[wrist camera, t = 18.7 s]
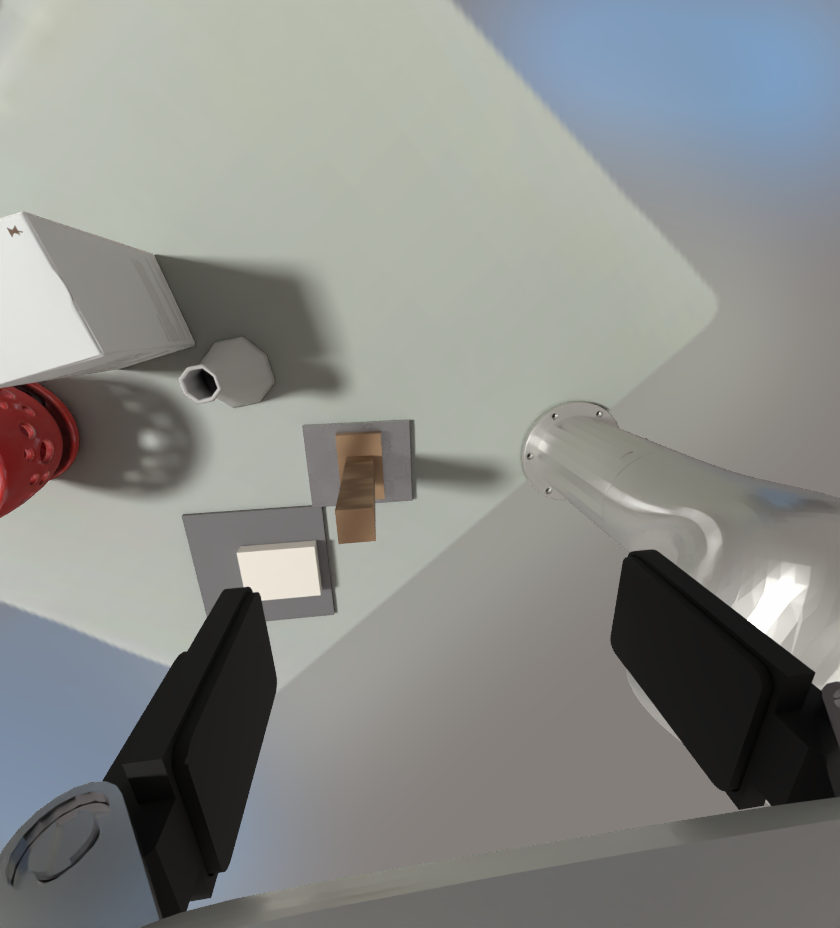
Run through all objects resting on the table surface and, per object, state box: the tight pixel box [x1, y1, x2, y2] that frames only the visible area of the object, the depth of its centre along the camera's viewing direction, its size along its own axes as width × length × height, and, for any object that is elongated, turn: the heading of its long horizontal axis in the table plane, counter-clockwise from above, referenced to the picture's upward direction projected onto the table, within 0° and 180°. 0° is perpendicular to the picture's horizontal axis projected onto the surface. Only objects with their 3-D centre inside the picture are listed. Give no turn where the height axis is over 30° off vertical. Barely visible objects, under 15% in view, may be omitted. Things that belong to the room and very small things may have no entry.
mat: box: [182, 505, 335, 621], centre depth 49 cm, size 16×16×1 cm
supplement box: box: [0, 212, 195, 388], centre depth 32 cm, size 9×9×15 cm
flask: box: [178, 336, 275, 408], centre depth 37 cm, size 7×7×10 cm
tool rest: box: [302, 420, 412, 507], centre depth 46 cm, size 12×10×1 cm
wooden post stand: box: [335, 431, 385, 544], centre depth 39 cm, size 5×8×15 cm, turn 2°
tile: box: [237, 540, 322, 601], centre depth 48 cm, size 2×7×9 cm
